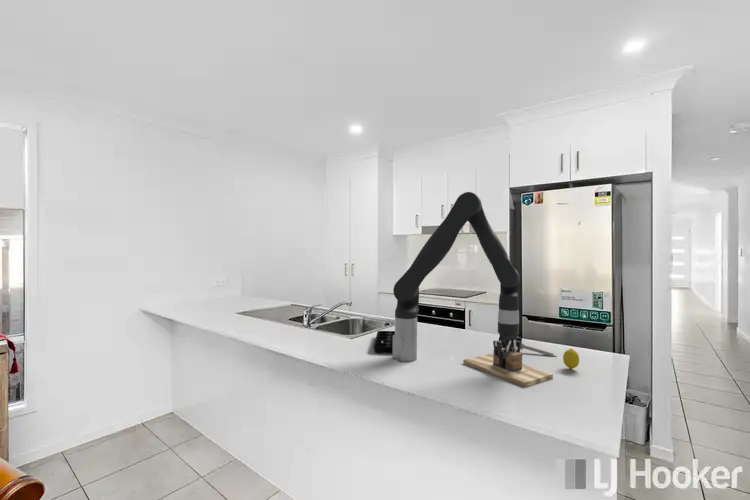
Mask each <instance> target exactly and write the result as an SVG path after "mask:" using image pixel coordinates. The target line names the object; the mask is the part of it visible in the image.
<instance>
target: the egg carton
mask: <svg viewBox="0 0 750 500" xmlns="http://www.w3.org/2000/svg"><path fill="white" fill-rule="evenodd" d="M393 335H395V330H378V331H377V333H376V335H375V339H374V342H373V345H372V346H373V349H374V353H375V354H386V353H389V354H390V355H392V351H393Z"/></svg>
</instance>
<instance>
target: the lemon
mask: <svg viewBox="0 0 750 500" xmlns="http://www.w3.org/2000/svg"><path fill="white" fill-rule="evenodd" d="M562 360H563V361H562V362H563V364H564V366H566V368H568V369H569V370H573V369H576V368H577V367H578V366H579V364H580V355H579V354H578V352H577V351H576V350H574V349H573V348H570V349H567V350H565V351H564V352H563V356H562Z"/></svg>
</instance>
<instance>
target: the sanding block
mask: <svg viewBox="0 0 750 500" xmlns="http://www.w3.org/2000/svg"><path fill="white" fill-rule="evenodd" d="M502 349H505V348H503V347H502ZM498 353H499V352H498ZM502 354H503V351H502ZM505 358H506V364H505V368H503V369H506V370H509V371H512V372H515V371H519V370H522V364H523V353H521V352H520V353H519V352H515V351H513V350H508V352H507V353H506V357H505ZM493 365H495V366H498V367H500V366H499V357H498V356H495V352H494V351H493ZM500 368H501V367H500Z"/></svg>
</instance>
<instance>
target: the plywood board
mask: <svg viewBox="0 0 750 500" xmlns="http://www.w3.org/2000/svg"><path fill="white" fill-rule="evenodd" d="M462 362H463V365H467V366H469V367H472V368H474V369H477V370H480V371H482V372H484V373H487V374H490V375H491V376H492V375H493V376H495V377H498V378H500V379H502V380H505V381H508V382H511V383H513V384H515V385H518V386H521V387H524V388H526V387H531V386H533V385H536V384H540V383H542V382H545V381H549V380H553V378H554V375H553V373H550V372H547V371H545V370H543V369H538V368H535V367H533V366H529V365H526V364H523V363H522V370H519V371H515V372H512V371H509V370H506V369H503V368H500V367H498V366H495V365H493V354H492V353H488V354H483V355H479V356H474V357H470V358H466V359H463V361H462Z"/></svg>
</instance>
